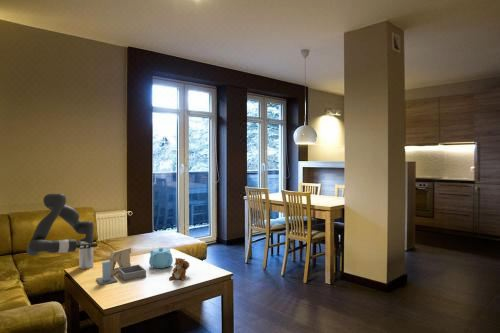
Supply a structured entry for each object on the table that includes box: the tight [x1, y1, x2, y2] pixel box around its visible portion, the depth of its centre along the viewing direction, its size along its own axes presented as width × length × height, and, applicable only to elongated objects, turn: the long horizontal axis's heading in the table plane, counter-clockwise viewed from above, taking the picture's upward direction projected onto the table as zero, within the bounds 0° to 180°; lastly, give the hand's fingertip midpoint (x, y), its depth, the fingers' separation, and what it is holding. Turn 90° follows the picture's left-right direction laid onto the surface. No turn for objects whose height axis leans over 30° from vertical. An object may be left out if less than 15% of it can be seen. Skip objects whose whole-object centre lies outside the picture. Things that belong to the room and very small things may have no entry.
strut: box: [101, 259, 112, 281], centre depth 223 cm, size 4×4×12 cm
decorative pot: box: [148, 247, 174, 270], centre depth 252 cm, size 16×16×14 cm
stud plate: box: [96, 275, 118, 286], centre depth 223 cm, size 12×10×4 cm
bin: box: [117, 264, 147, 282], centre depth 232 cm, size 15×14×4 cm
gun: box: [108, 247, 132, 276], centre depth 245 cm, size 24×3×15 cm, turn 168°
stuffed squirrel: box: [168, 257, 190, 281], centre depth 228 cm, size 10×14×13 cm
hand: (94, 244), depth 219 cm, fingers open, 8 cm apart
